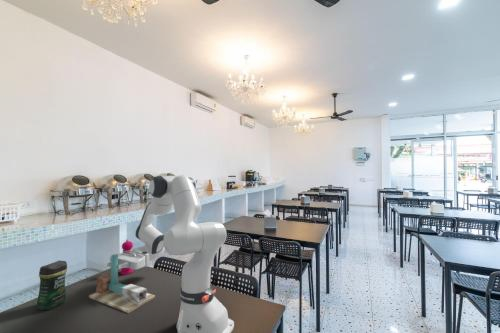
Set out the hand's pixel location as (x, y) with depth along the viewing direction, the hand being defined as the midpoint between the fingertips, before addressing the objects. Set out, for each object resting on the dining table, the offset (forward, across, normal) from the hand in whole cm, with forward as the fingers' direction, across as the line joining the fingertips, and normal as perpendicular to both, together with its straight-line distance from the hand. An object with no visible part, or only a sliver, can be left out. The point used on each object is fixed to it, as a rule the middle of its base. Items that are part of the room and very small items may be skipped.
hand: (112, 266), depth 112 cm
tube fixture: (-1, +6, +14) cm, 15 cm away
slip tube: (-1, +4, +11) cm, 12 cm away
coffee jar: (+17, -16, +14) cm, 27 cm away
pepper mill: (-21, -18, +14) cm, 31 cm away
